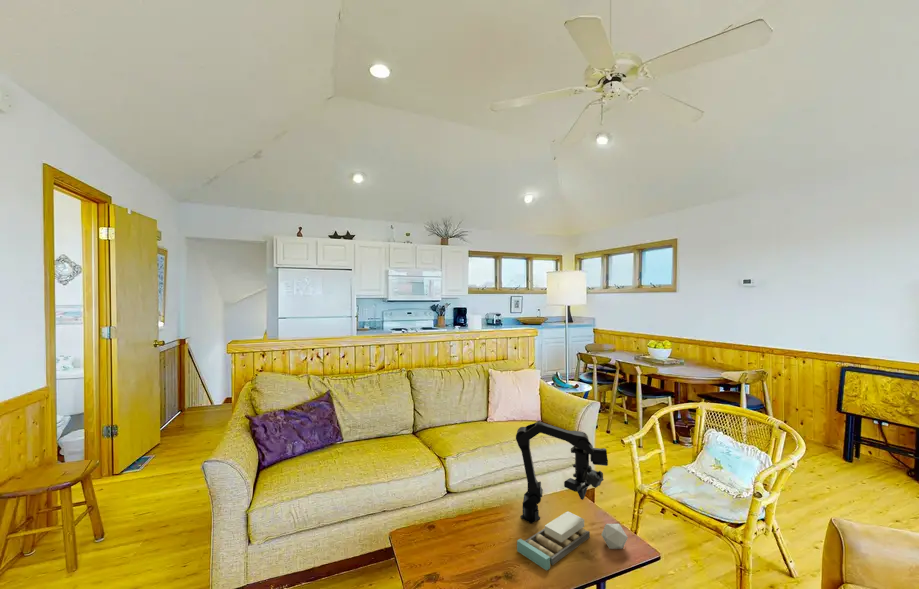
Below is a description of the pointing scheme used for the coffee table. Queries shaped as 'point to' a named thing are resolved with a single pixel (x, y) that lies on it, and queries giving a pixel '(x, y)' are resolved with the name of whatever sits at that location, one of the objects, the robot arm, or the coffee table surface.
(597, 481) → the robot arm
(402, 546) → the coffee table surface
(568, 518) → the slab
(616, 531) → the die
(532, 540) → the roller bed
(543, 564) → the stop bar
